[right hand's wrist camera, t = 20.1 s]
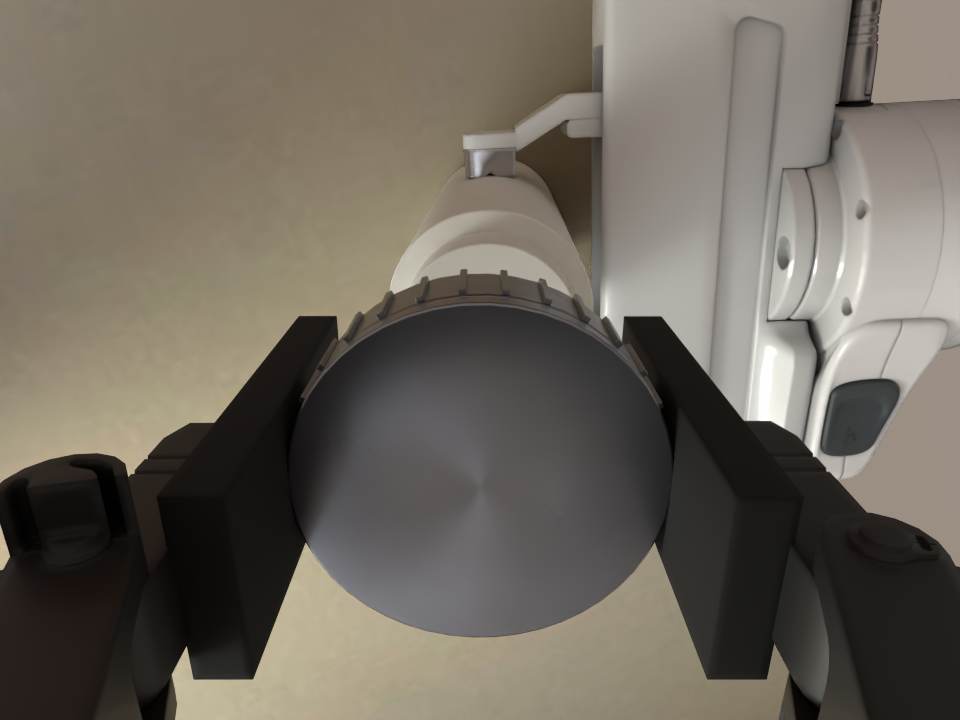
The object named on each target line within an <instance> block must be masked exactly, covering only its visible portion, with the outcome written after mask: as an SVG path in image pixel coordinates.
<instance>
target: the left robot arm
mask: <svg viewBox="0 0 960 720" xmlns="http://www.w3.org/2000/svg"><path fill="white" fill-rule="evenodd" d="M881 3H882V0H593V10H592V92H582V93H566V94H559V95H558V96H556V97H555V98H553V99H552V100H550V101H549V102H547V103H546V104H544V105H543V106H541V107H540V108H538V109H537V110H536V111H534V112H533V113H531V114H530V115H528V116H527V117H525V118H524V119H522V120H521V121H519V122H518V123H516V124H515V125H514V129H503V130H485V131H472V132H465V133H463V150H464V162H465V175H466V178H481V177H486V176H487V175H488V174H489V173H492V174H493V175H495V176H498V177H508V176H516V151H517V152H518V151H519V150H521V149H522V148H524V147H525V146H527V145H528V144H530V143H531V142H533V141H534V140H536V139H537V138H539V137H540V136H542V135H543V134H545V133H547V132H548V131H550V130H551V129H553V128H554V127H556V126H557V125H559V124H560V123H561V131H562V132H563V133H564V134H565V135H567V136H568V137H570V138H582V137H592V174H591V289H592V294H593V304H594V306H593V312H594V313H595V314H597V315H598V316H599V317H600V318H601V319H603V318H604V317H605V316H607V317H608V318H609V319H610V321H611V322H612V324H613V326H614V328H615V330H616V331H617V333H618V335H619V337H620V339H621V340H622V333H623V321H624V316H662V318H663V319H664V320H665V321H666V323H667V324H668V325H669V326H670V328H671V329H672V330H673V332H674V333H675V334H676V335H677V337H678V338H679V339H680V340H681V342H682V343H683V344H684V345H685V347H686V348H687V349H688V350H689V352H690V353H691V354H692V356H693V357H694V358H695V359H696V361H697V362H698V363H699V364H700V366H701V367H702V368H703V369H704V371H705V372H706V373H707V375H708V376H709V377H710V378H711V380H712V381H713V382H714V383H715V385H716V386H717V387H718V388H719V390H720V391H721V392H722V393H723V395H724V396H725V397H726V399H727V400H728V401H729V402H730V404H731V405H732V406H733V407H734V409H735V410H736V411H737V412H738V414H739V415H740V416H741V418H742V419H743V420H744V421H772V422H774V423H776V424H777V425H779V426H781V427H783V428H784V429H786V430H788V431H790V432H791V433H793V434H795V435H797V436H798V437H799V438H800V440H801V441H802V442H803V443H804V444H805V445H806V446H807V447H808V448H809V449H810V451H811V452H812V453H813V457H817V458H818V459H819V460H820V462H821V463H822V464H823V465H824V466H825V467H826V471H827V472H830V473H831V474H832V475H833V476H834V477H835V478H836V479H846V478H850V477H854V476H856V475H858V474H859V473H861V472H862V471H863V470H864V469H865V468H866V466H867V465H868V464H869V462H870V461H871V459H872V457H873V455H874V454H875V452H876V450H877V448H878V446H879V445H880V443H881V441H882V439H883V437H884V435H885V434H886V432H887V430H888V428H889V426H890V425H891V423H892V421H893V419H894V418H895V416H896V414H897V413H898V411H899V409H900V407H901V406H902V404H903V403H904V401H905V399H906V398H907V396H908V395H909V393H910V391H911V390H912V388H913V387H914V385H915V384H916V383H917V381H918V380H919V378H920V377H921V375H922V374H923V372H924V371H925V370H926V368H927V367H928V366H929V364H930V363H931V362H932V360H933V359H934V358H935V357H936V355H937V354H938V352H939V351H940V350H944V349H950V348H954V347H959V346H960V99H950V100H932V101H915V102H897V103H876V104H873V102H871V95H872V89H873V81H874V74H875V67H876V60H877V51H878V44H877V41H878V35H877V33H878V25H877V24H878V23H879V16H878V15H879V14H880V9H881ZM835 103H838V104H835Z"/></svg>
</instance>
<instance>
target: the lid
mask: <svg viewBox="0 0 960 720" xmlns="http://www.w3.org/2000/svg"><path fill="white" fill-rule="evenodd" d="M647 375H648V373H647V371H646V370H645V368H644V366H643V364H642V363H641V361H640V359H639V358H638V356H637V354H636V352H635V351H634V349H633V347H632V346H631V344H630V343H629V344H627V345H626V346H625V345H624V344H623V342H622V340H621V339H620V337H619V335H618V333H617V331H616V330H615V328H614V326H613V324H612V322H611V321H610V319H609V318H608V317H607V316H605V317H604V318H603V319H601V318H600V317H599V316H598V315H597V314H595V313H594V312H593V311H591V310H590V309H589V308H587V307H586V306H585V305H584V303H583V301H582V299H581V297H580V296H579V295H577V294H575V295H574V296H573V297H570V296H568V295H566V294H564V293H563V292H561V291H559V290H556V289H554V288H551V287H549V286H548V285H547V282H546V280H545V279H542V278H539V280H538V282H535V281H531V280H527V279H523V278H519V277H514V276H508V272H507V270H500V275H498V274H468V272H467V269H461V270H460V275H454V276H447V277H441V278H437V279H433V280H430V281H429V278H428V276H425V277H422V278H421V281H420V283H419V284H416V285H414V286H412V287H409V288H407V289H405V290H402V291H400V292H398V293H395V294H394V293H393V292H392V290H391V291H389V292H387V293H386V294H385V296H384V298H383V301H382V302H380V303H379V304H377V305H375V306H374V307H373V308H372V309H370V310H369V311H368V312H367V313H365V314H364V315H363V314H362V313H361V312H358V313H357V314H356V315H355V317H354V319H353V320H352V322H351V324H350V326H349V328H348V330H347V331H346V333H345V334H344V335H343V336H342V337H341V339H340V340H337V339H336V338H334V339H333V341H332V342H331V344H330V346H329V347H328V349H327V351H326V352H325V354H324V356H323V358H322V359H321V361H320V363H319V364H318V366H317V368H316V371H315V373H314V374H313V376H312V378H311V379H310V381H309V383H308V385H307V386H306V388H305V390H304V392H303V393H302V395H301V397H300V399H299V402H300V403H303V404H302V406H301V408H300V410H299V412H298V414H297V417H296V420H295V423H294V426H293V429H292V433H291V436H290V443H289V449H288V455H287V470H288V480H289V488H290V496H291V504H292V509H293V512H294V515H295V519H296V522H297V524H298V526H299V529H300V531H301V533H302V535H303V537H304V539H305V542H306V543H307V545H308V546H309V548H310V550H311V551H312V553H313V554H314V556H315V557H316V559H317V560H318V562H319V563H320V564H321V565H322V566H323V568H324V569H325V570H326V571H327V572H328V573H329V575H330V576H331V577H332V578H333V579H334V580H335V581H336V582H337V583H339V584H340V585H341V586H342V587H343V588H344V589H345V590H346V591H347V592H349V593H350V594H351V595H353V596H354V597H355V598H357V599H358V600H360V601H361V602H362V603H364V604H365V605H367V606H369V607H370V608H372V609H374V610H376V611H377V612H379V613H381V614H383V615H385V616H387V617H389V618H392V619H394V620H396V621H399V622H401V623H403V624H406V625H409V626H412V627H416V628H419V629H422V630H425V631H430V632H435V633H440V634H445V635H451V636H463V637H499V636H508V635H516V634H521V633H526V632H530V631H535V630H539V629H542V628H545V627H548V626H551V625H554V624H557V623H560V622H563V621H565V620H567V619H569V618H571V617H573V616H576V615H578V614H580V613H582V612H584V611H585V610H587V609H589V608H590V607H592V606H593V605H595V604H597V603H598V602H600V601H601V600H603V599H604V598H605V597H607V596H608V595H609V594H610V593H612V592H613V591H614V590H616V589H617V588H618V587H619V586H620V585H621V584H622V583H623V582H624V581H625V580H626V579H627V578H628V577H629V576H630V575H631V574H632V573H633V572H634V571H635V570H636V568H637V567H638V566H639V565H640V563H641V562H642V561H643V559H644V558H645V557H646V556H647V554H648V552H649V551H650V549H651V547H652V546H653V544H654V542H655V540H656V539H657V537H658V535H659V532H660V530H661V528H662V525H663V523H664V520H665V518H666V515H667V511H668V507H669V500H670V492H671V484H672V475H673V450H672V445H671V440H670V435H669V431H668V427H667V424H666V422H665V419H664V416H663V414H662V411H661V409H663V408H664V406H663V403H662V401H661V399H660V398H659V396H658V394H657V392H656V391H655V389H654V387H653V385H652V384H651V382H650V380H649V378H648V377H647Z"/></svg>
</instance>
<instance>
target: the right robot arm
mask: <svg viewBox="0 0 960 720" xmlns="http://www.w3.org/2000/svg"><path fill="white" fill-rule="evenodd" d="M334 338H336V339H337V340H338V328H337V316H299V317H298V318H297V319H296V321H295V322H294V323H293V325H292V326H291V327H290V328H289V330H288V331H287V332H286V333H285V335H284V336H283V337H282V338H281V340H280V341H279V342H278V343H277V345H276V346H275V347H274V349H273V350H272V351H271V352H270V354H269V355H268V356H267V357H266V359H265V360H264V361H263V362H262V364H261V365H260V366H259V368H258V369H257V370H256V371H255V373H254V374H253V375H252V376H251V378H250V379H249V380H248V381H247V383H246V384H245V385H244V386H243V388H242V389H241V390H240V392H239V393H238V394H237V395H236V397H235V398H234V399H233V400H232V402H231V403H230V404H229V405H228V407H227V408H226V409H225V411H224V412H223V413H222V414H221V416H220V417H219V418H218V419H217V421H216V422H215V423H189V424H188V425H186V426H184V427H182V428H181V429H179V430H177V431H175V432H174V433H172V434H170V435H168V436H167V437H165V438H163V440H162V441H161V442H160V443H159V444H158V445H157V446H156V447H155V448H154V450H153V451H152V452H151V453H150V454H149V455H148V459H145V460H144V461H143V462H142V463H141V464H140V465H139V466H138V467H137V468H136V470H135V474H131V475H130V476H129V477H128V474H127V470H126V465H125V463H124V462H122V461H121V460H119V459H118V458H116V457H115V456H109V455H103V454H98V453H95V454H74V455H69V456H64V457H60V458H55V459H50V460H47V461H44V462H41V463H38V464H36V465H33V466H30V467H27V468H24V469H23V470H21V471H19V472H17V473H16V474H14V475H12V476H10V477H8V478H7V479H5V480H3V481H2V482H1V483H0V525H1V528H2V531H3V534H4V538H5V541H6V544H7V547H8V551H9V554H10V558H9V560H8V562H7V564H6V566H5V568H4V569H3V570H0V720H175V715H176V707H177V701H176V694H175V688H174V684H173V679H172V673H173V671H174V669H175V667H176V665H177V663H178V661H179V659H180V657H181V656H182V654H183V652H184V650H185V648H186V646H187V649H188V654H189V659H190V664H191V669H192V674H193V678H194V679H253V678H254V676H255V673H256V670H257V668H258V665H259V663H260V660H261V657H262V655H263V652H264V650H265V647H266V644H267V642H268V639H269V637H270V634H271V631H272V629H273V626H274V623H275V621H276V618H277V616H278V613H279V610H280V608H281V605H282V603H283V600H284V597H285V595H286V592H287V590H288V587H289V584H290V582H291V579H292V577H293V574H294V571H295V569H296V566H297V563H298V561H299V558H300V556H301V553H302V550H303V548H304V545H305V543H306V542H305V539H304V537H303V535H302V533H301V531H300V529H299V526H298V524H297V522H296V519H295V515H294V512H293V509H292V504H291V496H290V488H289V480H288V470H287V455H288V449H289V443H290V436H291V433H292V429H293V426H294V423H295V420H296V417H297V414H298V412H299V410H300V408H301V406H302V404H303V403H300V402H299V399H300V397H301V395H302V393H303V392H304V390H305V388H306V386H307V385H308V383H309V381H310V379H311V378H312V376H313V374H314V373H315V371H316V368H317V366H318V364H319V363H320V361H321V359H322V358H323V356H324V354H325V352H326V351H327V349H328V347H329V346H330V344H331V342H332V341H333V339H334ZM622 342H623V344H624V345H625V346H626V345H627V344H629V343H630V344H631V346H632V347H633V349H634V351H635V352H636V354H637V356H638V358H639V359H640V361H641V363H642V364H643V366H644V368H645V370H646V371H647V373H648V375H647V377H648V378H649V380H650V382H651V384H652V385H653V387H654V389H655V391H656V392H657V394H658V396H659V398H660V399H661V401H662V403H663V406H664V408H663V409H661V411H662V414H663V416H664V419H665V422H666V424H667V427H668V431H669V435H670V440H671V445H672V450H673V475H672V484H671V492H670V500H669V507H668V511H667V515H666V518H665V520H664V523H663V525H662V528H661V530H660V532H659V535H658V537H657V539H656V540H655V544H656V547H657V549H658V552H659V555H660V557H661V560H662V562H663V565H664V568H665V570H666V573H667V575H668V578H669V581H670V583H671V586H672V588H673V591H674V594H675V596H676V599H677V601H678V604H679V607H680V609H681V612H682V615H683V617H684V620H685V622H686V625H687V628H688V630H689V633H690V635H691V638H692V641H693V643H694V646H695V648H696V651H697V654H698V656H699V659H700V662H701V664H702V667H703V669H704V672H705V675H706V677H707V679H767V676H768V671H769V666H770V661H771V656H772V651H773V646H774V644H775V645H776V647H777V649H778V651H779V653H780V655H781V657H782V659H783V661H784V662H785V664H786V666H787V668H788V670H789V675H788V679H787V684H786V688H785V693H784V697H783V702H782V707H781V711H780V716H779V720H960V567H957V566H955V564H954V562H953V561H952V559H951V557H950V555H949V554H948V553H947V552H946V550H945V549H944V548H943V547H942V546H941V545H940V543H939V542H938V541H936V540H935V539H933V538H932V537H930V536H929V535H927V534H926V533H924V532H923V531H921V530H920V529H918V528H916V527H914V526H911V525H909V524H907V523H904V522H902V521H899V520H897V519H894V518H890V517H886V516H882V515H878V514H874V513H867V512H866V511H865V510H864V509H863V508H862V507H861V506H860V505H859V503H858V502H857V501H856V500H855V499H854V498H853V497H852V496H851V495H850V493H849V492H848V491H847V490H846V489H845V488H844V487H843V486H842V485H841V484H840V482H839V481H838V480H837V479H836V478H835V477H834V476H833V475H832V474H831V473H830V472H827V471H826V467H825V466H824V465H823V464H822V463H821V462H820V460H819V459H818V458H817V457H813V453H812V452H811V451H810V449H809V448H808V447H807V446H806V445H805V444H804V443H803V442H802V441H801V440H800V438H799V437H798V436H797V435H795V434H793V433H791V432H790V431H788V430H786V429H784V428H783V427H781V426H779V425H777V424H776V423H774V422H772V421H744V420H743V419H742V418H741V416H740V415H739V414H738V412H737V411H736V410H735V409H734V407H733V406H732V405H731V404H730V402H729V401H728V400H727V399H726V397H725V396H724V395H723V393H722V392H721V391H720V390H719V388H718V387H717V386H716V385H715V383H714V382H713V381H712V380H711V378H710V377H709V376H708V375H707V373H706V372H705V371H704V369H703V368H702V367H701V366H700V364H699V363H698V362H697V361H696V359H695V358H694V357H693V356H692V354H691V353H690V352H689V350H688V349H687V348H686V347H685V345H684V344H683V343H682V342H681V340H680V339H679V338H678V337H677V335H676V334H675V333H674V332H673V330H672V329H671V328H670V326H669V325H668V324H667V323H666V321H665V320H664V319H663V318H662V316H624V321H623V333H622Z"/></svg>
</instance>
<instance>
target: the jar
mask: <svg viewBox="0 0 960 720" xmlns="http://www.w3.org/2000/svg"><path fill="white" fill-rule="evenodd" d="M461 269H467V272H468V274H498V275H500V270H507V272H508V276H514V277H519V278H523V279H527V280H531V281H535V282H538V280H539V278H542V279H545V280H546V282H547V285H548V286H549V287H551V288H554V289H556V290H559V291H561V292H563V293H564V294H566V295H568V296H570V297H573V296H574V295H575V294H577V295H579V296H580V297H581V299H582V301H583V303H584V305H585V306H586V307H587V308H589V309H590V310H591V311H593V306H594V304H593V294H592V289H591V285H590V281H589V277H588V275H587V272H586V270H585V267H584V265H583V263H582V261H581V258H580V256H579V254H578V252H577V250H576V247H575V245H574V243H573V241H572V239H571V237H570V234H569V232H568V230H567V228H566V226H565V223H564V221H563V219H562V217H561V215H560V212H559V210H558V208H557V206H556V204H555V201H554V199H553V197H552V195H551V193H550V190H549V189H548V187H547V185H546V183H545V182H544V181H543V180H542V178H541V177H540V176H539V175H538V174H537V173H536V172H535V171H534V170H532V169H531V168H530V167H528V166H527V165H525V164H523V163H521V162H519V161H516V176H508V177H498V176H495V175H493V174H492V173H489V174H488V175H487V176H486V177H481V178H466V175H465V165H464V166H463V167H461V168H460V169H459V170H457V171H456V172H455V173H454V174H453V175H452V176H451V177H450V178H449V179H448V180H447V182H446V183H445V185H444V186H443V188H442V190H441V191H440V193H439V195H438V197H437V198H436V200H435V202H434V203H433V205H432V207H431V208H430V210H429V212H428V214H427V215H426V217H425V219H424V220H423V222H422V224H421V225H420V227H419V229H418V231H417V232H416V234H415V236H414V237H413V239H412V241H411V242H410V244H409V246H408V248H407V249H406V251H405V253H404V254H403V256H402V258H401V260H400V262H399V264H398V266H397V268H396V270H395V272H394V275H393V278H392V281H391V284H390V290H389V291H391V290H392V292H393V293H394V294H395V293H398V292H400V291H402V290H405V289H407V288H409V287H412V286H414V285H416V284H419V283H420V281H421V278H422V277H425V276H428V278H429V281H430V280H433V279H437V278H441V277H447V276H454V275H460V270H461Z"/></svg>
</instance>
